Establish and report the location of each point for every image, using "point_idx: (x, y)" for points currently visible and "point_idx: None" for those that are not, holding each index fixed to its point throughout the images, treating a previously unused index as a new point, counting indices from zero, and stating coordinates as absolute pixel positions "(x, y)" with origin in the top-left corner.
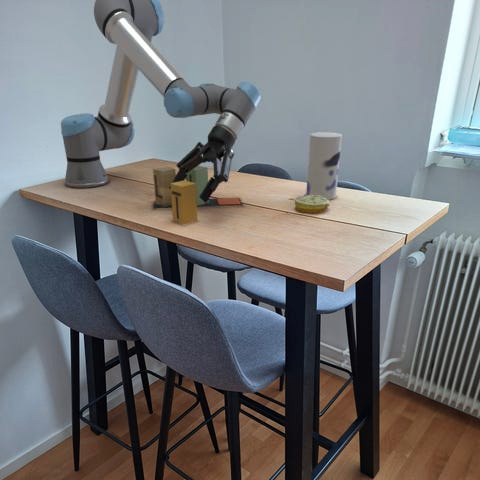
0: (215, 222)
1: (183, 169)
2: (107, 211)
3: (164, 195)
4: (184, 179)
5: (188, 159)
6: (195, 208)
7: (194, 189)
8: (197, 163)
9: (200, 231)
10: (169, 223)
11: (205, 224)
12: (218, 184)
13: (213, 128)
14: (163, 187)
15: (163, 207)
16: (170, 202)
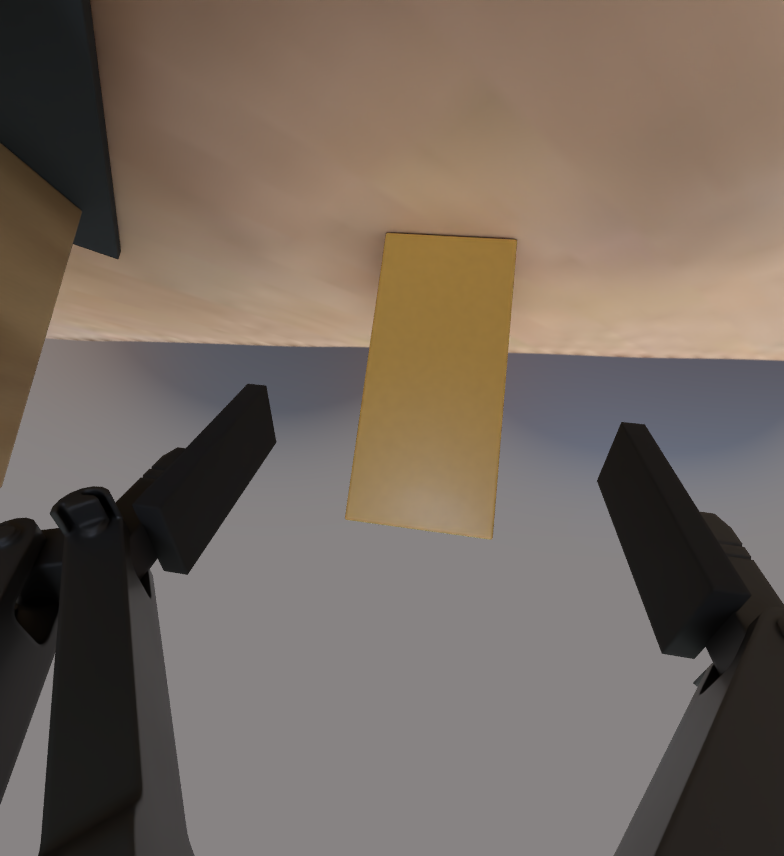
0: (692, 167)
1: (139, 569)
2: (124, 330)
3: (54, 292)
4: (193, 472)
5: (10, 714)
6: (506, 344)
7: (494, 491)
8: (150, 722)
9: (649, 310)
10: None
11: (615, 240)
12: (773, 596)
13: None
14: (38, 356)
15: (96, 221)
16: (21, 191)
